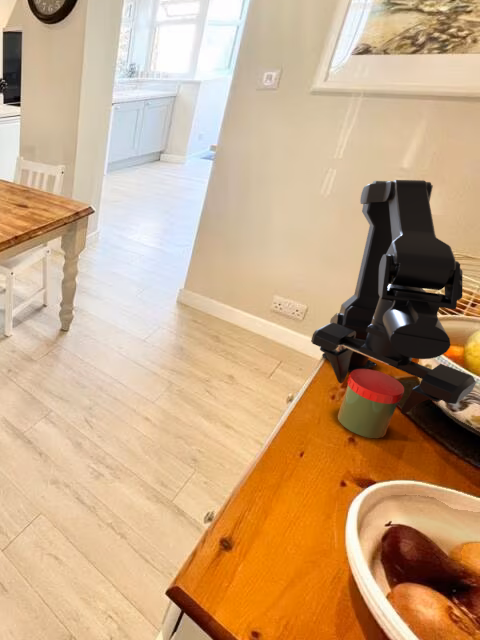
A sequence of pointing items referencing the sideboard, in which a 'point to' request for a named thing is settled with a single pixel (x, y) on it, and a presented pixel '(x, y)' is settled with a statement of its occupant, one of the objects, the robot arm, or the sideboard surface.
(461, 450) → the sideboard surface
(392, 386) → the lid
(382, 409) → the jam jar
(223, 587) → the sideboard surface
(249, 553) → the sideboard surface
